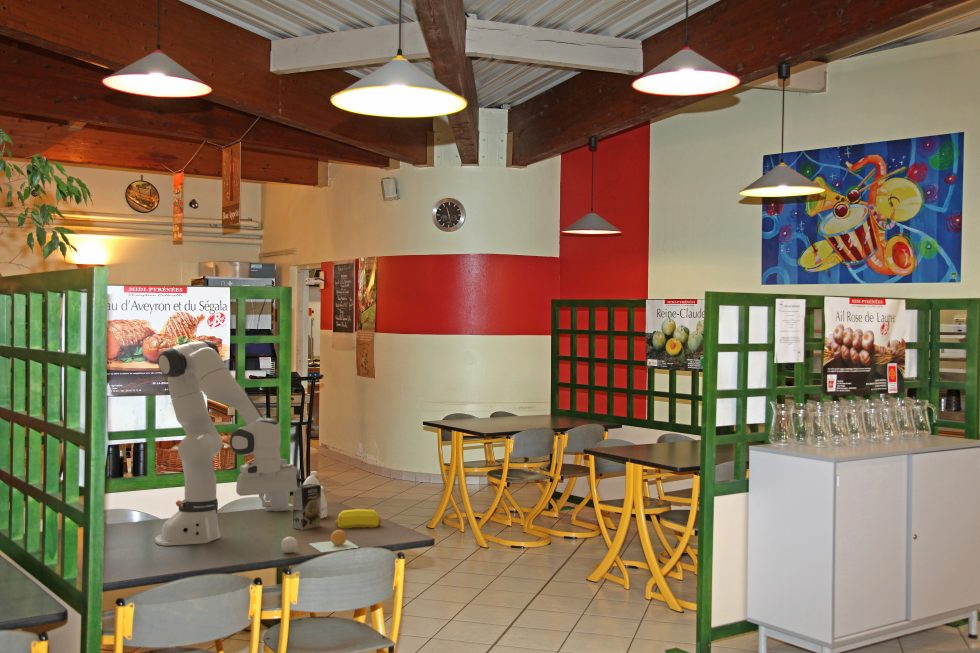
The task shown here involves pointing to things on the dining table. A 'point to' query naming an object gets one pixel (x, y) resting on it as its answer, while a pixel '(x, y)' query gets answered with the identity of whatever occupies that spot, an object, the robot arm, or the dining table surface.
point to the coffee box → (306, 506)
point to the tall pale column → (279, 498)
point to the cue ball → (289, 544)
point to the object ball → (338, 537)
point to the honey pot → (313, 480)
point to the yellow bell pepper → (358, 518)
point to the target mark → (332, 546)
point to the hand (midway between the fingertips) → (267, 506)
